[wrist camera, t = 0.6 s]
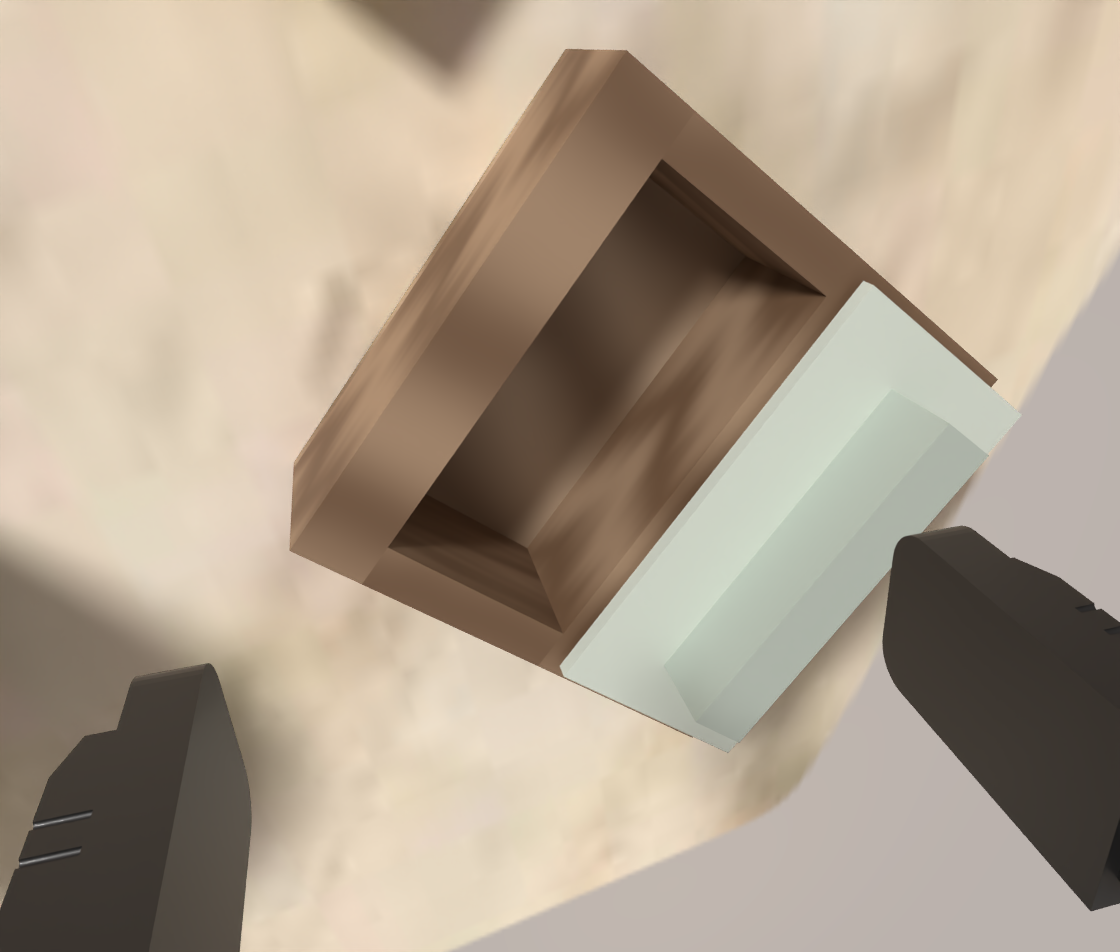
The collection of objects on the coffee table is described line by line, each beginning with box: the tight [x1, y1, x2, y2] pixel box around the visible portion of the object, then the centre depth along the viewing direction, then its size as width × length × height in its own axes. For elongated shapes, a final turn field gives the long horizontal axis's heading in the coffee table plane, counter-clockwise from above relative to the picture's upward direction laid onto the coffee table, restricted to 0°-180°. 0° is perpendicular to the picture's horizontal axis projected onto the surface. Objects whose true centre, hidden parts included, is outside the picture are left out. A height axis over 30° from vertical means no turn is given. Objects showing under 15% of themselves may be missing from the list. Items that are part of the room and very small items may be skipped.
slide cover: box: [560, 281, 1022, 753], centre depth 29 cm, size 16×8×4 cm, turn 144°
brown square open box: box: [290, 49, 998, 738], centre depth 32 cm, size 17×17×6 cm
